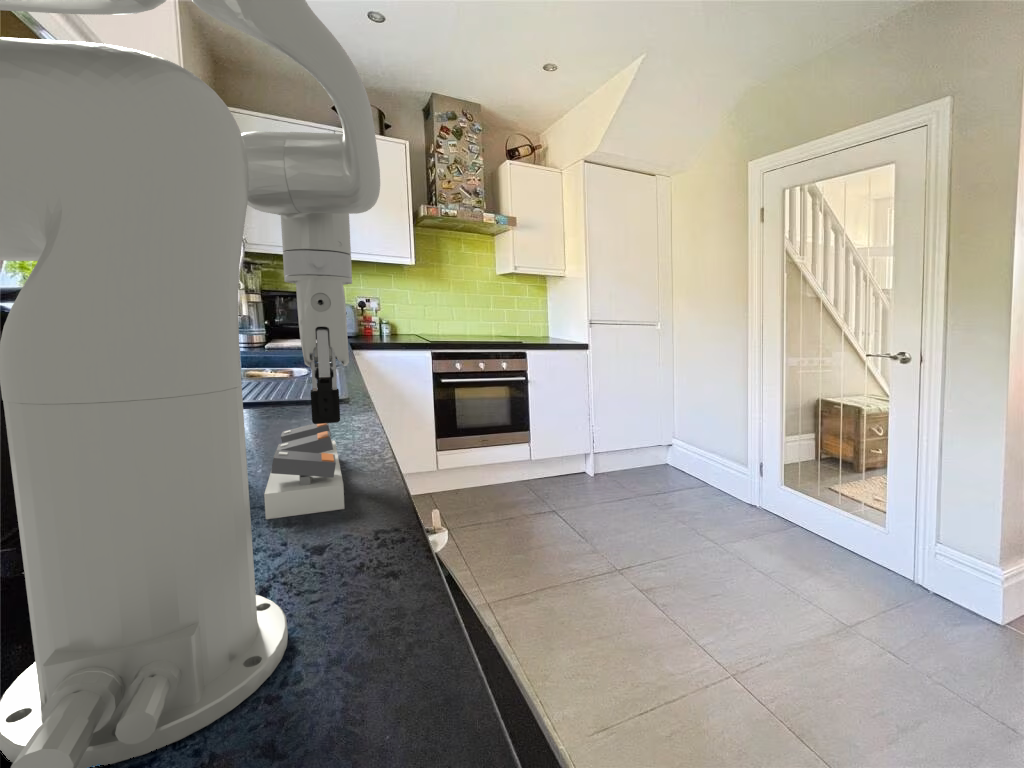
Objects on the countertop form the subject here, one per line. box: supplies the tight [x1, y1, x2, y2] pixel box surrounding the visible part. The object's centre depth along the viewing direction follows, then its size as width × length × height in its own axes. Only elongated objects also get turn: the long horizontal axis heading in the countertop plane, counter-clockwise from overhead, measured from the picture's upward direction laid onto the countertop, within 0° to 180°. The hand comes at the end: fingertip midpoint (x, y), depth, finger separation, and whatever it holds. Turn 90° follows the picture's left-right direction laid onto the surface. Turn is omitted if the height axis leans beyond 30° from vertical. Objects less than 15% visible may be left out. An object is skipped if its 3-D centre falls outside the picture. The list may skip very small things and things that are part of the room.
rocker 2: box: [276, 431, 333, 453], centre depth 59 cm, size 4×6×2 cm, turn 112°
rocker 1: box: [280, 423, 332, 443], centre depth 67 cm, size 4×6×2 cm, turn 112°
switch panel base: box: [264, 440, 345, 520], centre depth 60 cm, size 22×7×4 cm, turn 22°
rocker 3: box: [270, 449, 336, 478], centre depth 52 cm, size 4×6×2 cm, turn 112°
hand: (326, 421), depth 60 cm, fingers closed
